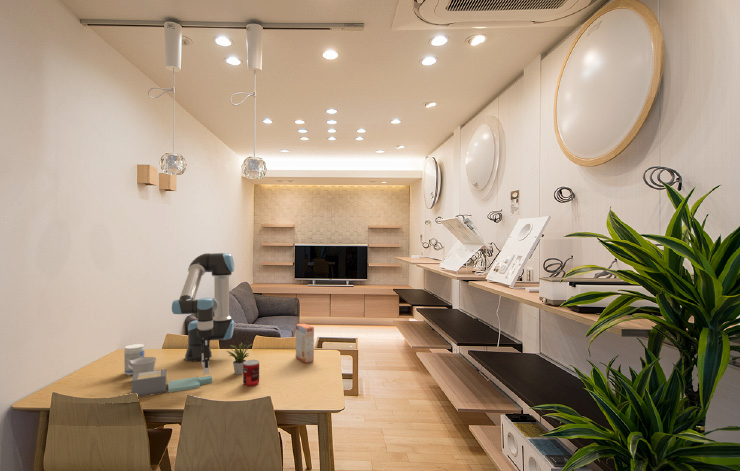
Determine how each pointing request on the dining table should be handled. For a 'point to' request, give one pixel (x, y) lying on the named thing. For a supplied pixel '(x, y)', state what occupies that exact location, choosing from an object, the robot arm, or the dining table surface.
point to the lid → (188, 383)
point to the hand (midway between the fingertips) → (205, 369)
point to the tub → (149, 382)
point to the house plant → (239, 358)
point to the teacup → (142, 364)
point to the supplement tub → (132, 355)
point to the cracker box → (305, 342)
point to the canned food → (251, 372)
